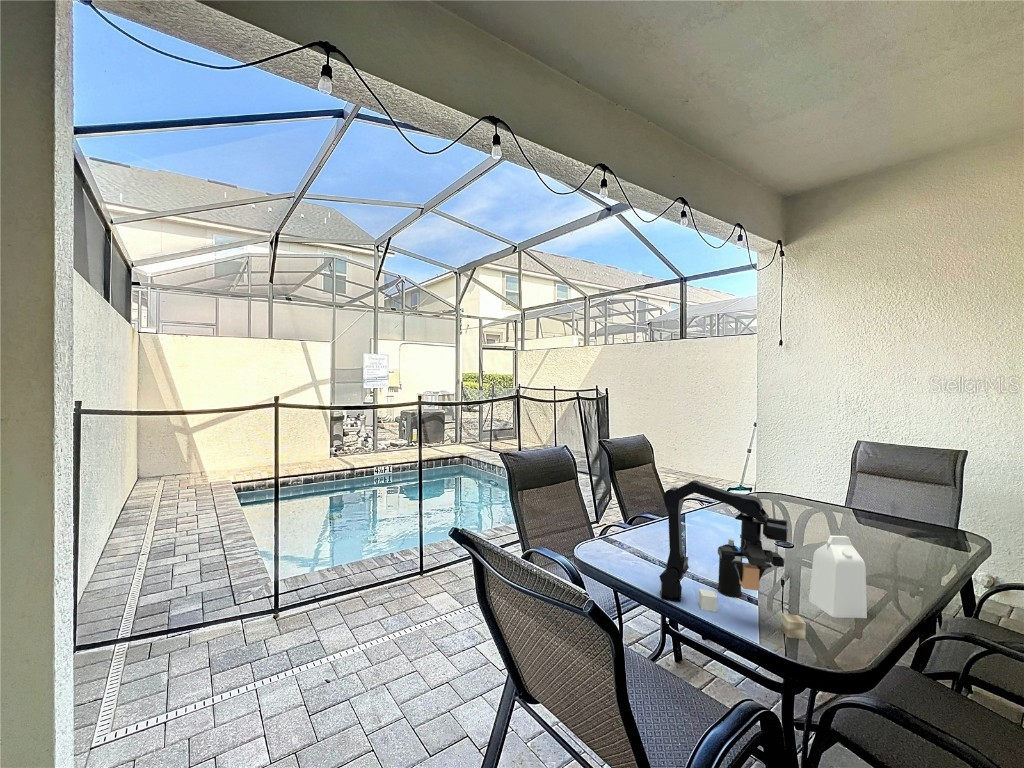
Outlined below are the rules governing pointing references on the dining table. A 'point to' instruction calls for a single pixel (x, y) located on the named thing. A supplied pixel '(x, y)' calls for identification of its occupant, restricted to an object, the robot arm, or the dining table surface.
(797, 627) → the birch cube
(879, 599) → the dining table surface
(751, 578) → the brown block
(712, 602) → the off-white cube
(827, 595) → the milk
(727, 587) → the aerosol can
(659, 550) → the dining table surface
